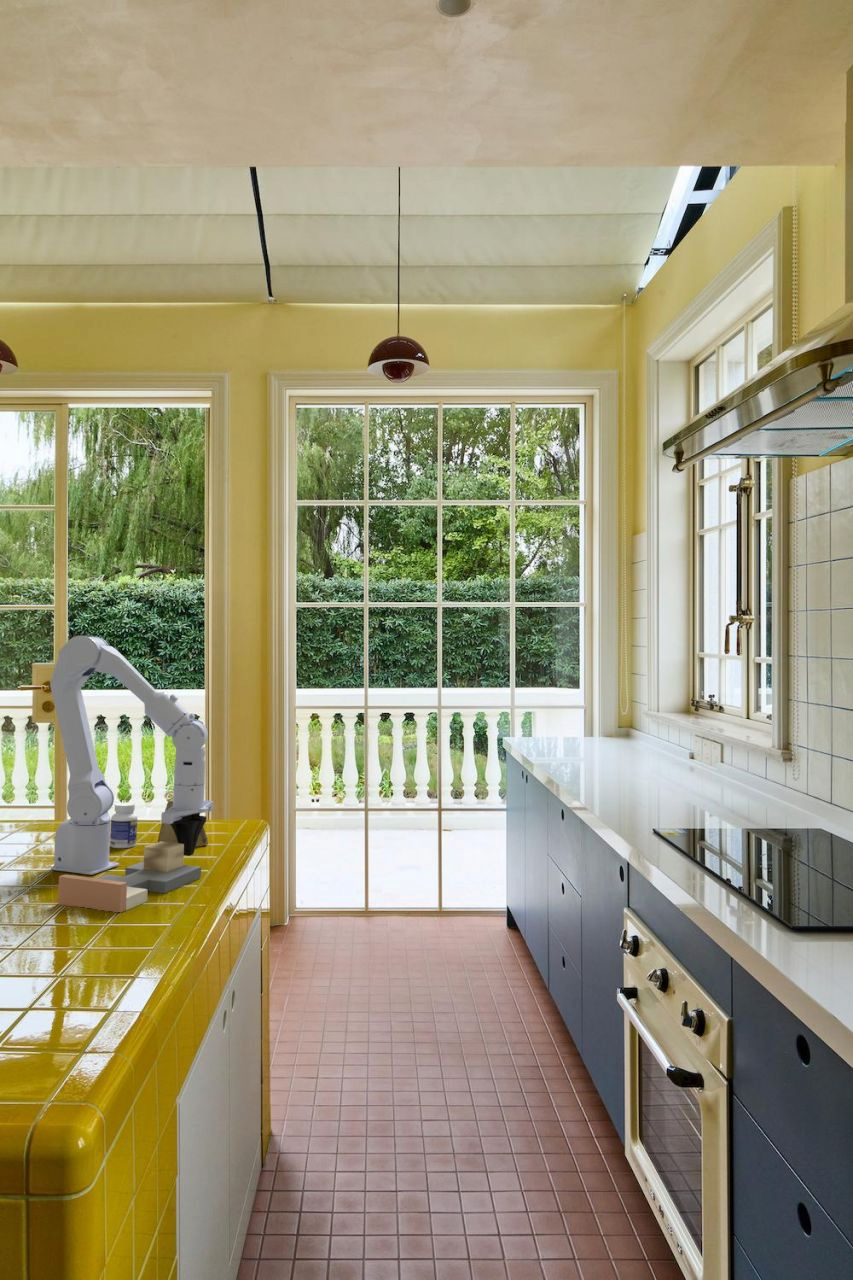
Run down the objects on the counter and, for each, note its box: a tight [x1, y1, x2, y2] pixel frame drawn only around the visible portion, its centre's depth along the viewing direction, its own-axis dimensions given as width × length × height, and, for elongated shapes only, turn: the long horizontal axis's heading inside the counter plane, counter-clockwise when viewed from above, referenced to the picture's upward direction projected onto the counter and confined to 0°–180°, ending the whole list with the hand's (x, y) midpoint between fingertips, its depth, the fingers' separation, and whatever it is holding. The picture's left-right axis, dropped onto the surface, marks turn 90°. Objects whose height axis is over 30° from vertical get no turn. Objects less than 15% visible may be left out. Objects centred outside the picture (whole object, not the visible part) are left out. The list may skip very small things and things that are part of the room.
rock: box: [157, 800, 209, 847], centre depth 178 cm, size 11×9×10 cm
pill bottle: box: [110, 802, 138, 849], centre depth 179 cm, size 5×5×9 cm
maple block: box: [143, 841, 185, 872], centre depth 155 cm, size 5×5×4 cm
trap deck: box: [57, 860, 202, 913], centre depth 146 cm, size 12×23×4 cm, turn 162°
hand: (186, 854), depth 162 cm, fingers closed
